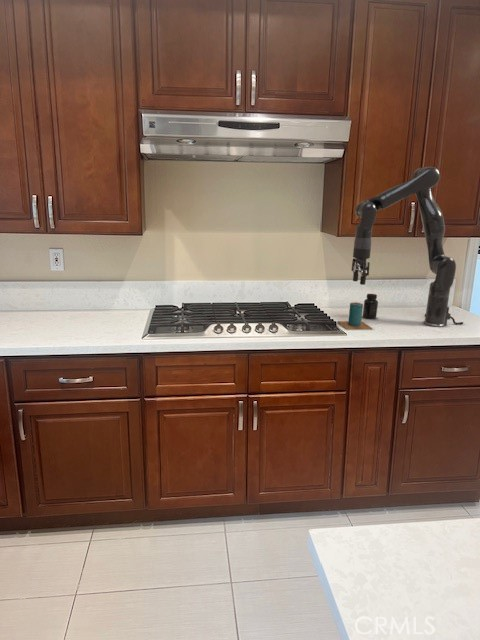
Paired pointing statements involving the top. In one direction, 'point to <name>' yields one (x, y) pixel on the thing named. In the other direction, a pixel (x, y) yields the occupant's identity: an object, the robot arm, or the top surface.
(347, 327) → the cork coaster
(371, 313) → the supplement bottle
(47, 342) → the top surface
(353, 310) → the teal can
